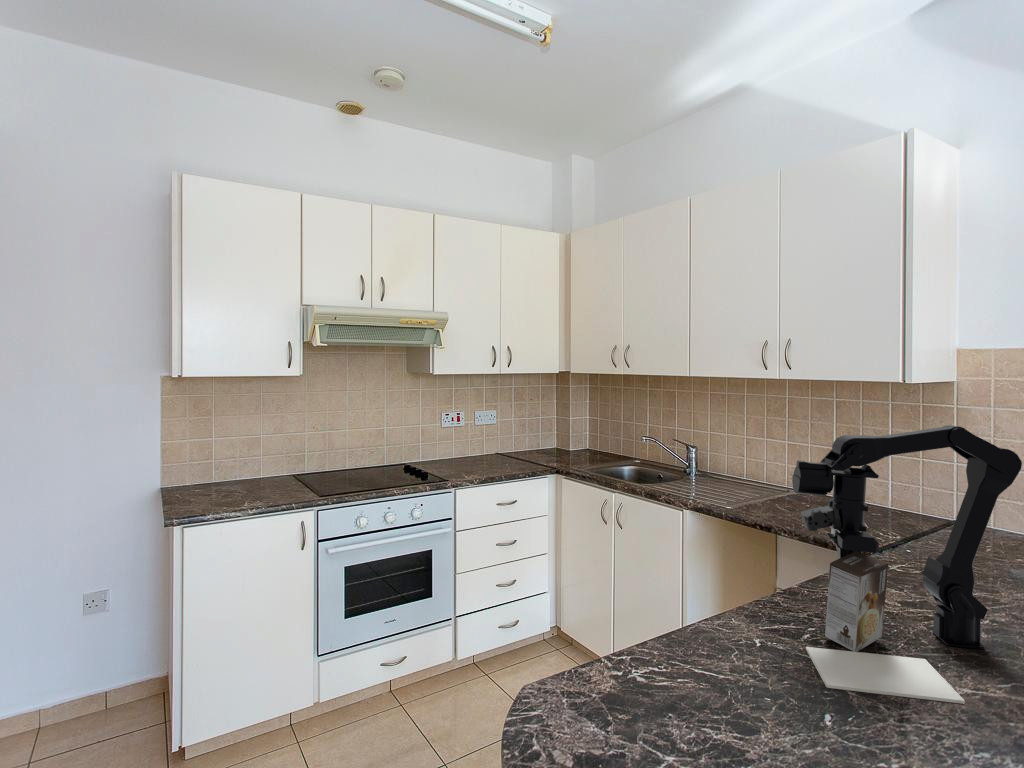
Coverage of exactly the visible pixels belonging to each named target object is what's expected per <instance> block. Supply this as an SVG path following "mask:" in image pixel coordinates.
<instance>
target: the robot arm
mask: <svg viewBox="0 0 1024 768" xmlns="http://www.w3.org/2000/svg"><path fill="white" fill-rule="evenodd" d="M946 448H950V449H951V450H952V451H954V452H955V453H956V454H957V455H959V456H961V457H962V458H964V459H965V460H966V461H967V463H966V469H965V472H966V479H967V481H966V482H967V489H966V492H965V494H964V497H963V499H962V502H961V505H960V508H959V510H958V513H957V516H956V518H955V521H954V524H953V527H952V529H951V532H950V534H949V538H948V541H947V542H946V545H945V548H944V550H943V552H942V553H941V554H940V555H939V556H938V557H936V558H934V557H931V556H928V557H927V558H926V562H925V565H924V568H923V570H922V571H921V572H920V575H921V576H923V577H922V585H923V586H924V588H925V589H926V590H927V591H928V593H930V594H931V596H932V598H933V600H934V601H935V602H937V603H938V604H937V605H936V612H934V613H933V629H932V630H931V631H932V633H933V634H934V635H935V636H936V637H937V638H938V639H940V641H941V642H943V643H944V644H945V645H946V646H950V647H958V648H968V649H969V648H970V649H977V650H978V649H979V650H985V649H986V645H984V644H983V643H981V638H982V637H981V635H982V634H981V632H982V631H981V628H982V627H981V625H982V621H981V620H984V619H985V618H986V615H987V613H988V607H986V606H985V605H984V604H983V603H982V602H981V601H979V600H978V599H977V598H976V597H975V596H974V595H973V594H974V589H975V584H976V583H975V581H976V580H975V575H974V567H973V566H974V565H973V564H974V561H975V558H976V557H977V553H978V550H979V548H980V545H981V542H982V540H983V537H984V535H985V532H986V529H987V527H988V524H989V521H990V519H991V517H992V514H993V511H994V508H995V506H996V503H997V501H998V498H999V496H1000V495H1001V494H1002V493H1003V492H1004V491H1006V490H1007V489H1008V488H1009V487H1011V486H1012V484H1013V483H1014V482H1015V480H1016V478H1017V477H1018V476H1019V473H1020V472H1021V470H1022V466H1023V461H1022V459H1020V457H1019V455H1018V453H1016V452H1015V451H1014V450H1011V449H1009V448H1003V447H999V446H997V445H996V444H993V443H991V442H989V441H987V440H986V439H983V438H981V437H979V436H978V435H976V434H974V433H972V432H970V431H968V430H967V429H966V428H965V427H962V426H960V425H952V424H947V425H943V426H941V427H934V428H928V429H926V428H925V429H922V430H921V429H920V430H914V431H907V432H901V433H892V434H887V435H885V434H884V435H866V434H865V435H864V434H862V435H861V434H844V435H840V436H837V438H835V440H834V441H833V444H832V445H831V450H830V451H829V452H828V453H827V454H826V455H825V456H824V457H823V458H822V459H821V460H820V462H815V461H814V462H812V461H809V462H808V461H805V460H797V461H796V466H795V467H794V470H793V474H792V477H791V479H792V481H791V482H792V489H793V493H794V494H798V495H799V494H800V495H801V494H802V495H809V496H810V495H812V496H822V497H823V496H827V495H828V493H830V494H831V492H832V498H829V499H828V501H827V505H826V506H819V507H814V508H810V509H805V510H802V511H800V515H801V518H802V522H803V525H804V528H806V529H807V531H809V532H815V531H817V530H820V529H824V528H831V529H830V530H831V531H830V533H828V532H827V533H826V536H827V537H828V538H829V539H830V540H831V541H832V542H833V543H834V544H835V548H836V553H837V558H838V559H840V558H842V557H844V556H846V555H848V554H850V553H853V552H855V551H858V552H860V553H862V552H863V553H872V554H878V553H879V546H880V545H879V544H880V543H879V541H877V539H875V537H874V536H872V535H871V534H870V533H869V532H868V531H867V530H868V527H867V526H866V525H865V524H864V523H865V512H868V511H869V506H868V505H867V504H866V493H867V491H866V490H867V479H878V478H879V477H880V475H879V474H877V473H876V472H875V470H873V468H872V466H870V465H869V464H872V463H875V462H878V461H880V460H882V459H884V458H887V457H890V456H891V457H892V456H895V455H896V456H897V455H901V454H903V455H904V454H911V453H917V452H924V451H933V450H938V449H946Z"/></svg>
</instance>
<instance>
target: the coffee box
mask: <svg viewBox="0 0 1024 768" xmlns="http://www.w3.org/2000/svg"><path fill="white" fill-rule="evenodd" d="M888 569H889V562H888V561H884V560H881V559H878V558H876V557H874V556H871V555H868V554H865V553H864V552H863V553H862V552H861V553H860V552H858V551H855V552H853V553H850V554H848V555H846V556H844V557H842V558H840V559H839V558H838V559H836V560H834V561H832V562H829V577H828V590H827V603H826V604H827V605H826V615H825V616H826V617H825V619H826V620H825V630H824V631H825V632H824V636H825V637H826V638H827V639H829V640H832V641H833V642H835V643H837V644H839V645H841V646H843V647H844V648H846V649H848V650H849V651H852V652H860V651H861V650H863V649H864V648H866V647H868V646H869V645H871V644H872V643H874V642H876V641H878V640H879V639H880V638H882V636H883V627H884V615H885V614H884V613H885V605H886V596H887V595H886V592H887V583H888V582H887V581H888V573H889V572H888Z"/></svg>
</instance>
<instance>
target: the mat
mask: <svg viewBox="0 0 1024 768" xmlns="http://www.w3.org/2000/svg"><path fill="white" fill-rule="evenodd" d="M805 650H806V652H807V655H808V656H809V659H810V660H811V661H812V663H813V665H814V667H815V669H816V670H817V672H818V674H819V676H820V678H821V680H822V681H823V683H824V685H825V687H826V688H827V689H836V690H845V691H853V692H861V693H869V694H870V693H871V694H876V695H877V694H879V695H886V696H895V697H903V698H904V697H905V698H912V699H919V700H920V699H921V700H930V701H938V702H946V703H955V704H962V705H963V704H964V705H965V704H966V701H965V699H964V698H963V697H962V696H961V695H960V694H959V693H958V691H956V690H955V689H954V688H953V686H952V685H951V684H950V683H949V682H948V681H947V680H946V679H945V678H944V677H943V676H942V675H941V674H940V673H939V672H938V671H937V669H935V668H934V667H933V665H931V664H930V662H928V660H927V659H926V658H919V657H918V658H917V657H909V656H899V655H891V654H882V653H881V654H878V653H873V652H872V653H871V652H870V653H869V652H860V651H858V652H853V651H852V650H843V649H842V650H841V649H832V648H831V649H830V648H821V647H812V646H805Z"/></svg>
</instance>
